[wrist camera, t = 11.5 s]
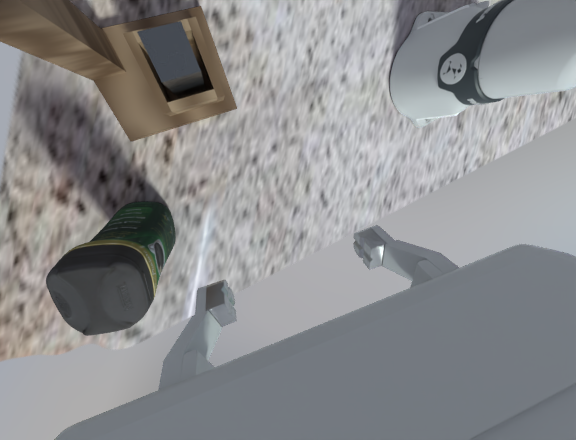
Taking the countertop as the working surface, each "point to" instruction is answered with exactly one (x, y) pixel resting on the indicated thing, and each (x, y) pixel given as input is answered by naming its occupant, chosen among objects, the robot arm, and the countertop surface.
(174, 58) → the dark grey square peg
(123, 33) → the wooden peg slot stand
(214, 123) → the countertop surface
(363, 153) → the countertop surface
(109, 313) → the coffee jar
